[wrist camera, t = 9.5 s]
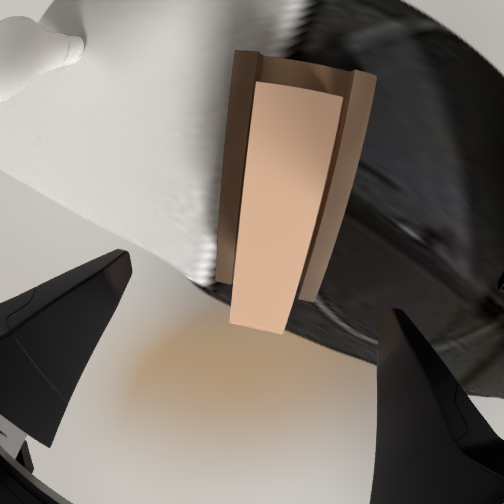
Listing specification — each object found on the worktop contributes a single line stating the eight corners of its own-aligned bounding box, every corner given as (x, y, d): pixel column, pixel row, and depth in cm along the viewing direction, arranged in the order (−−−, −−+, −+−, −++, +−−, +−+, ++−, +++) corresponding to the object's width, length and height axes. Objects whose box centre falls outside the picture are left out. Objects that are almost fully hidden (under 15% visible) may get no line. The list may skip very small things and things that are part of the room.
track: (367, 78, 13) (378, 76, 11) (316, 276, 22) (315, 302, 20) (245, 56, 14) (233, 50, 11) (225, 257, 23) (214, 280, 20)
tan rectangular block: (328, 94, 14) (343, 97, 8) (293, 261, 20) (282, 334, 15) (277, 84, 14) (256, 81, 8) (253, 252, 21) (229, 322, 15)
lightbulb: (75, 96, 17) (-34, 134, 8) (50, 57, 14) (-50, 80, 5) (118, 44, 14) (-7, 51, 5) (88, 5, 12) (-22, 5, 3)
